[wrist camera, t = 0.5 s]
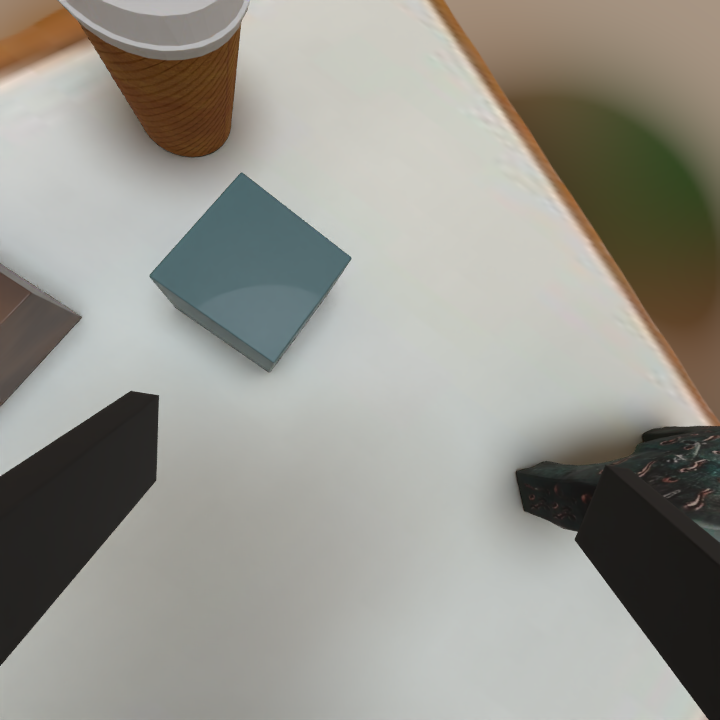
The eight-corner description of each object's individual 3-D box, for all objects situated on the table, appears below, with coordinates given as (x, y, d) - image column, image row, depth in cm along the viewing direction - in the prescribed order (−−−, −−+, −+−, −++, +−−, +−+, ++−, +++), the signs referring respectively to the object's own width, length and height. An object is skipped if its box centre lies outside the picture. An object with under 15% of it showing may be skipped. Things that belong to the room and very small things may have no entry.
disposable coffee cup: (86, 80, 27) (-38, -157, 16) (211, 42, 30) (183, -186, 18) (160, 198, 28) (92, 52, 16) (276, 150, 30) (289, -5, 19)
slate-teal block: (269, 372, 28) (274, 363, 22) (174, 307, 27) (148, 275, 20) (330, 289, 30) (352, 257, 23) (244, 224, 29) (241, 171, 22)
